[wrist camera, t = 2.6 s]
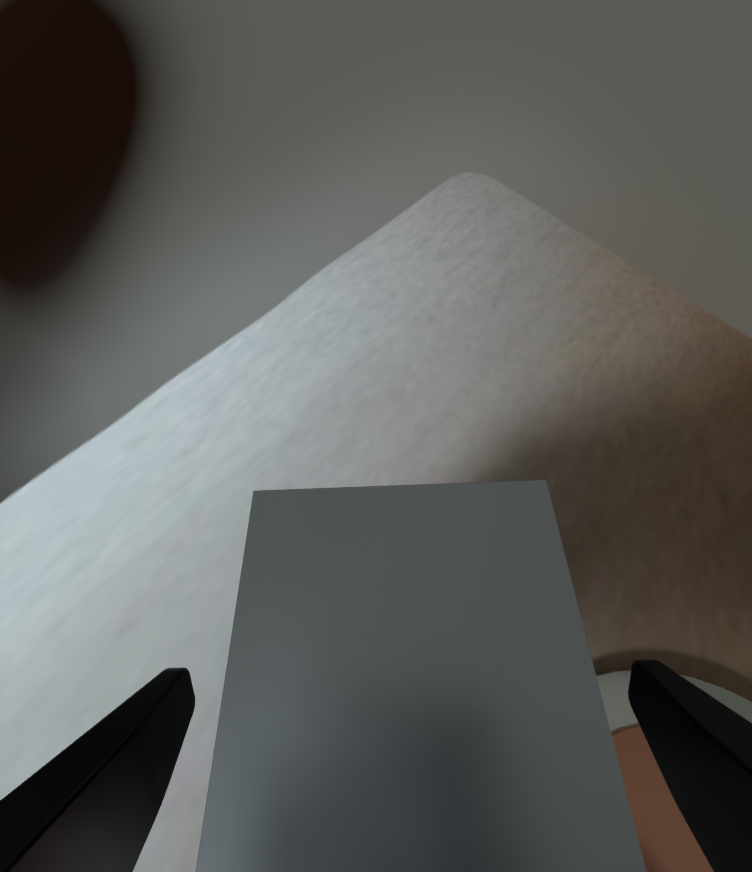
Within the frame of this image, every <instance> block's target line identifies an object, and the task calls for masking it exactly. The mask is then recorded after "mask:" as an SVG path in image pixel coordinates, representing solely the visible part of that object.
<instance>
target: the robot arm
mask: <svg viewBox="0 0 752 872" xmlns="http://www.w3.org/2000/svg"><path fill="white" fill-rule="evenodd" d="M628 698H629V702H630V705H631V708H632V710H633V712H634V714H635V716H636V719H637V721H638V723H639V725H640V727H641V729H642V732H643V734H644V736H645V738H646V740H647V743H648V745H649V747H650V749H651V751H652V753H653V756H654V758H655V760H656V762H657V764H658V767H659V769H660V771H661V773H662V775H663V777H664V780H665V782H666V784H667V786H668V788H669V790H670V792H671V794H672V796H673V798H674V800H675V802H676V804H677V806H678V808H679V810H680V812H681V814H682V815H683V817H684V819H685V821H686V823H687V825H688V826H689V828H690V830H691V832H692V834H693V835H694V837H695V839H696V841H697V843H698V844H699V846H700V848H701V850H702V852H703V853H704V855H705V857H706V859H707V860H708V862H709V864H710V866H711V868H712V869H713V871H714V872H752V723H751V722H749V721H748V720H746V719H745V718H743V717H742V716H740V715H739V714H737V713H736V712H734V711H733V710H731V709H730V708H728V707H727V706H725V705H724V704H722V703H721V702H719V701H718V700H716V699H715V698H713V697H712V696H710V695H709V694H707V693H706V692H704V691H703V690H701V689H700V688H698V687H697V686H695V685H694V684H692V683H691V682H689V681H688V680H686V679H685V678H683V677H682V676H680V675H679V674H677V673H676V672H674V671H673V670H671V669H670V668H668V667H667V666H665V665H664V664H662V663H661V662H659V661H657V660H636V661H634V662H633V664H632V668H631V675H630V681H629V688H628ZM194 707H195V695H194V691H193V686H192V682H191V677H190V673H189V671H188V669H187V668H168V669H165V670H164V671H162V672H161V673H160V674H159V675H157V676H156V677H155V678H153V679H152V680H151V681H150V682H148V683H147V684H146V685H145V686H143V687H142V688H141V689H140V690H138V691H137V692H136V693H135V694H133V695H132V696H131V697H130V698H128V699H127V700H126V701H125V702H123V703H122V704H121V705H120V706H118V707H117V708H116V709H115V710H113V711H112V712H111V713H110V714H108V715H107V716H106V717H105V718H103V719H102V720H101V721H100V722H98V723H97V724H96V725H95V726H93V727H92V728H91V729H90V730H88V731H87V732H86V733H84V734H83V735H82V736H81V737H79V738H78V739H77V740H76V741H74V742H73V743H72V744H71V745H69V746H68V747H67V748H66V749H64V750H63V751H62V752H61V753H59V754H58V755H57V756H56V757H54V758H53V759H52V760H51V761H49V762H48V763H47V764H46V765H44V766H43V767H42V768H41V769H39V770H38V771H37V772H36V773H34V774H33V775H32V776H31V777H29V778H28V779H27V780H26V781H24V782H23V783H22V784H21V785H19V786H18V787H17V788H15V789H14V790H13V791H12V792H10V793H9V794H8V795H7V796H5V797H4V798H3V799H2V800H0V872H132V871H133V869H134V867H135V865H136V862H137V860H138V858H139V855H140V853H141V851H142V848H143V846H144V844H145V842H146V839H147V837H148V835H149V832H150V830H151V828H152V825H153V823H154V821H155V818H156V816H157V814H158V811H159V809H160V806H161V804H162V801H163V799H164V796H165V793H166V790H167V788H168V785H169V782H170V779H171V776H172V773H173V770H174V767H175V764H176V761H177V758H178V756H179V753H180V750H181V747H182V744H183V741H184V738H185V735H186V732H187V729H188V726H189V723H190V720H191V717H192V715H193V711H194Z"/></svg>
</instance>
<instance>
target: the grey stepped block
mask: <svg viewBox="0 0 752 872" xmlns="http://www.w3.org/2000/svg"><path fill="white" fill-rule="evenodd" d="M196 872H646V868H645V864H644V860H643V856H642V852H641V848H640V844H639V840H638V837H637V833H636V829H635V825H634V821H633V817H632V813H631V809H630V805H629V801H628V797H627V794H626V790H625V786H624V782H623V778H622V774H621V770H620V766H619V762H618V758H617V755H616V751H615V747H614V743H613V739H612V735H611V731H610V727H609V723H608V719H607V716H606V712H605V708H604V704H603V700H602V696H601V692H600V688H599V684H598V680H597V677H596V673H595V669H594V665H593V661H592V657H591V653H590V649H589V645H588V641H587V638H586V634H585V630H584V626H583V622H582V618H581V614H580V610H579V606H578V602H577V598H576V595H575V591H574V587H573V583H572V579H571V575H570V571H569V567H568V563H567V559H566V556H565V552H564V548H563V544H562V540H561V536H560V532H559V528H558V524H557V520H556V517H555V513H554V509H553V505H552V501H551V497H550V493H549V489H548V485H547V481H546V480H529V481H502V482H475V483H449V484H422V485H395V486H368V487H342V488H315V489H288V490H262V491H253V498H252V505H251V511H250V518H249V524H248V531H247V537H246V544H245V551H244V557H243V564H242V570H241V577H240V583H239V590H238V597H237V603H236V610H235V616H234V623H233V629H232V636H231V642H230V649H229V656H228V662H227V669H226V675H225V682H224V688H223V695H222V702H221V708H220V715H219V721H218V728H217V734H216V741H215V748H214V754H213V761H212V767H211V774H210V780H209V787H208V794H207V800H206V807H205V813H204V820H203V826H202V833H201V840H200V846H199V853H198V859H197V866H196Z"/></svg>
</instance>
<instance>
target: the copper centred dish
mask: <svg viewBox="0 0 752 872" xmlns="http://www.w3.org/2000/svg"><path fill="white" fill-rule="evenodd" d="M630 675H631V670H616V671H606V672H602V673H597V674H596V677H597V680H598V684H599V688H600V692H601V696H602V700H603V704H604V708H605V712H606V716H607V719H608V723H609V727H610V731H611V735H612V739H613V743H614V747H615V751H616V755H617V758H618V762H619V766H620V770H621V774H622V778H623V782H624V786H625V790H626V794H627V797H628V801H629V805H630V809H631V813H632V817H633V821H634V825H635V829H636V833H637V837H638V840H639V844H640V848H641V852H642V856H643V860H644V864H645V868H646V872H714V871H713V869H712V868H711V866H710V864H709V862H708V860H707V859H706V857H705V855H704V853H703V852H702V850H701V848H700V846H699V844H698V843H697V841H696V839H695V837H694V835H693V834H692V832H691V830H690V828H689V826H688V825H687V823H686V821H685V819H684V817H683V815H682V814H681V812H680V810H679V808H678V806H677V804H676V802H675V800H674V798H673V796H672V794H671V792H670V790H669V788H668V786H667V784H666V782H665V780H664V777H663V775H662V773H661V771H660V769H659V767H658V764H657V762H656V760H655V758H654V756H653V753H652V751H651V749H650V747H649V745H648V743H647V740H646V738H645V736H644V734H643V732H642V729H641V727H640V725H639V723H638V721H637V719H636V716H635V714H634V712H633V710H632V708H631V705H630V702H629V698H628V688H629V681H630ZM680 676H682V677H683V678H685V679H686V680H688V681H689V682H691V683H692V684H694V685H695V686H697V687H698V688H700V689H701V690H703V691H704V692H706V693H707V694H709V695H710V696H712V697H713V698H715V699H716V700H718V701H719V702H721V703H722V704H724V705H725V706H727V707H728V708H730V709H731V710H733V711H734V712H736V713H737V714H739V715H740V716H742V717H743V718H745V719H746V720H748V721H749V722H751V723H752V702H751V701H749V700H747V699H745V698H743V697H741V696H739V695H737V694H735V693H732V692H730V691H728V690H726V689H724V688H722V687H719V686H716V685H713V684H711V683H708V682H705V681H702V680H699V679H696V678H693V677H688V676H684V675H680Z"/></svg>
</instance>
